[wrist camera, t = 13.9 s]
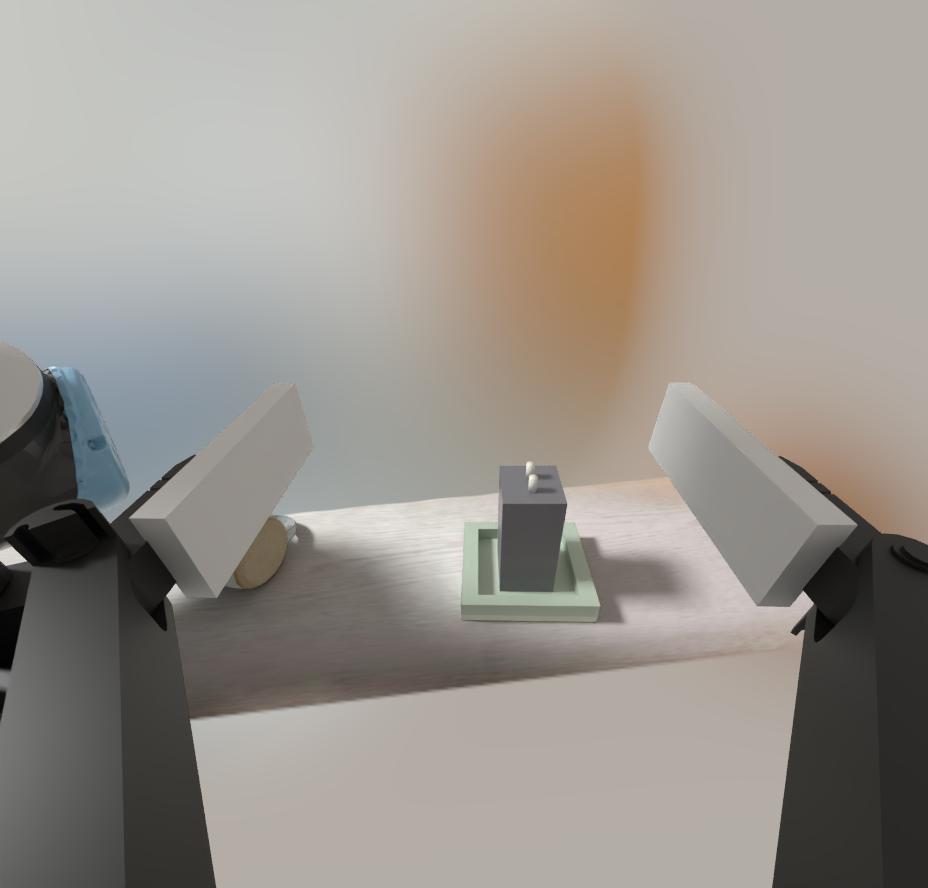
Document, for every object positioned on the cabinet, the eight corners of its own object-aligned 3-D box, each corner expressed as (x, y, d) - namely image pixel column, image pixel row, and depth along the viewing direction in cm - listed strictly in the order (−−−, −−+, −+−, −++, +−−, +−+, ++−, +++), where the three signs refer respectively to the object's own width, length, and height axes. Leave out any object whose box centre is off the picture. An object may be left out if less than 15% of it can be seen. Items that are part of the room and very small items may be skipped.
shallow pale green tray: (461, 620, 33) (460, 604, 32) (465, 536, 42) (464, 522, 40) (596, 621, 33) (600, 606, 31) (572, 537, 41) (574, 522, 40)
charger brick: (499, 591, 35) (503, 490, 28) (497, 549, 39) (500, 453, 32) (553, 592, 34) (569, 489, 28) (544, 550, 39) (557, 452, 32)
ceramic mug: (253, 608, 35) (223, 552, 31) (184, 592, 37) (147, 536, 33) (317, 530, 44) (300, 478, 40) (259, 519, 45) (237, 468, 41)
